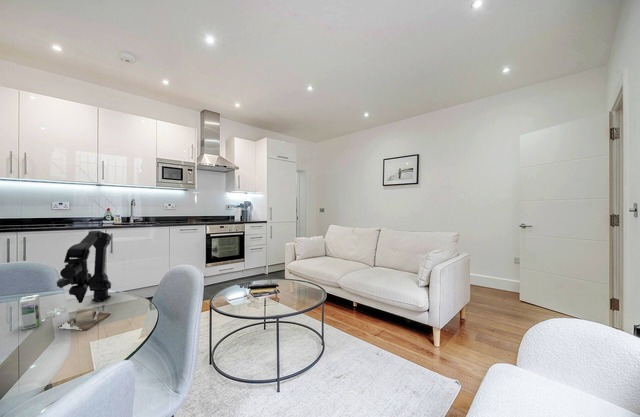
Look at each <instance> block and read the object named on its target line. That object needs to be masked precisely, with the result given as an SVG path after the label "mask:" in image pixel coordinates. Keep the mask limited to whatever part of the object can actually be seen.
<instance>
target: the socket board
mask: <svg viewBox="0 0 640 417" xmlns="http://www.w3.org/2000/svg"><path fill="white" fill-rule="evenodd" d="M75 315H76V314H74V315H73V317H72V318H70V319H69V320H67V321H66V322H67V323H68V324H70V327H73V326H77V327H79V329H82V330H84V331H83V332H87V331H88V330H90V329H91V328H93V327H95V326H96V325H97V324H99V323H100V322H102V321H104V320H106V318H108V317H110V316H111V313H109V312H101V311H100V310H99V309H98V310H94V317H93V319H92V320H87V321H82V322H77V323H76V316H75ZM59 327H62V324H60V325H59V326H57V329H58V328H59Z"/></svg>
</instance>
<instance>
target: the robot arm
mask: <svg viewBox="0 0 640 417" xmlns="http://www.w3.org/2000/svg"><path fill="white" fill-rule="evenodd" d="M111 240H112V236H111V234H109V233H106V232H103V231H102V230H101V231H100V230H90V231H88V234H87V235H85V237H84V238H83V239H82V240H81V241H80V242H79V243H75V244H73V245H72V246H70V247H69V248H68V249H67V251H66V254H65V258H64V260H63V263H64V264H65V265H64V268H62V269H61V270H60V272H59V274H60V276H61V277H62V278H60V279H59V278H58V280H57V281H56V287H59V289H62V288H64V287H67V286H69V285H71V286H70V288H68V294H69V295H70V296H74V297H75V298H76V300H77V302H78V303H79V304H82V303H83V300H84V299H85V297H86V294H87V292H88V288H89V291H90V292H93V298H92V299H91V301H93V302H104V301H105V300H107V299H109V298H110V297H111V295H110V294H109V290H110V289H111V288H112V282H111V281H110V280H109V276H108V275H107V274H106V272H105V271H106V257H107V256H106V255H107V254H106V253H107V248H108V246H109V245H110V243H111ZM92 246H93V247H94V249H95V256H94V272H93V274H92V273H90V272H89V269H88V258H89V255H90V253H91V250H90V249H91V248H92Z"/></svg>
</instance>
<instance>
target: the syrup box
mask: <svg viewBox="0 0 640 417" xmlns="http://www.w3.org/2000/svg"><path fill="white" fill-rule="evenodd" d="M39 294H40V293H39ZM39 294H34V295H29V296H23V297H21V298H20V301H19V309H20V316H21V325H22V330H24V331H25V330H27V329H28V330H29V329H31V328H36V327H40V325H41V323H42V315H41V306H40V305H41V304H40V295H39Z"/></svg>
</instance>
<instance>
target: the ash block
mask: <svg viewBox="0 0 640 417" xmlns="http://www.w3.org/2000/svg"><path fill="white" fill-rule="evenodd" d="M94 308H95V306H88V307H83V308H78V309H77V311H76V313H75V314H74V315H75V316H76V323H77V322H82V321H87V320H92V319H93V317H94V311H95V310H94Z"/></svg>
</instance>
